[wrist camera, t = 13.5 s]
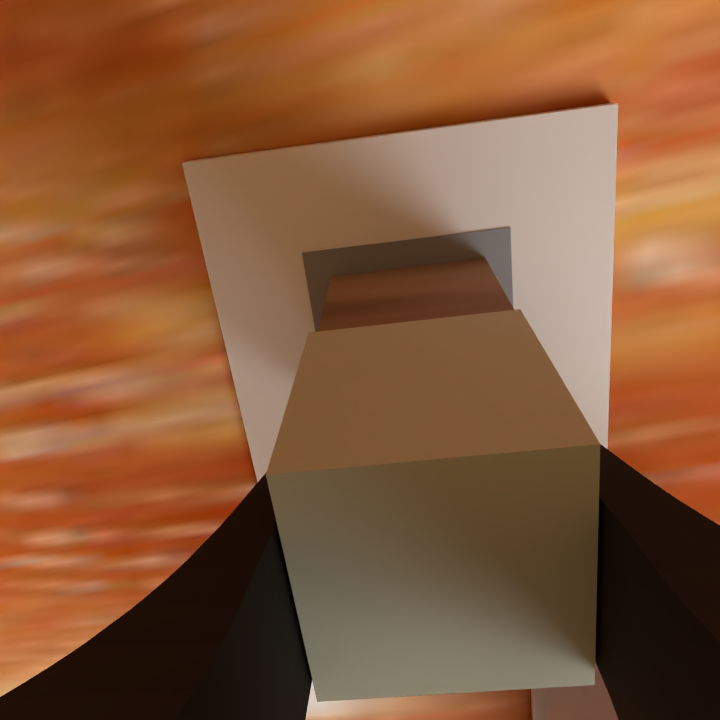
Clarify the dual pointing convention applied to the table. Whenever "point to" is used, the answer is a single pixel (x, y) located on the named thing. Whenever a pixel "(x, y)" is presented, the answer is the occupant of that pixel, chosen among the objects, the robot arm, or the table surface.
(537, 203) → the white flat square plate
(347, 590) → the sage block
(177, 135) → the table surface
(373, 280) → the walnut block
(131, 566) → the table surface
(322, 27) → the table surface
